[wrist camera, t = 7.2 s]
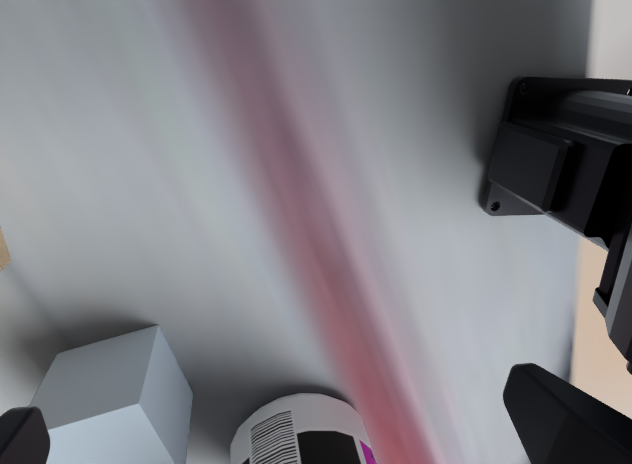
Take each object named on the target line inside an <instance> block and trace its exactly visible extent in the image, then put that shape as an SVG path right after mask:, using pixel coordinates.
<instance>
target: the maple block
mask: <svg viewBox="0 0 632 464" xmlns="http://www.w3.org/2000/svg"><path fill="white" fill-rule="evenodd" d="M10 261H11V259H10V256H9V252H8V249H7V246H6V243H5V240H4V237H3V234H2V230H1V227H0V271H1V270H2V269H3V268H4V267H5V266H6V265H7V264H8V263H9V262H10Z"/></svg>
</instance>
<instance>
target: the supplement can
mask: <svg viewBox="0 0 632 464" xmlns="http://www.w3.org/2000/svg"><path fill="white" fill-rule="evenodd" d="M230 464H377V463H376V460H375V457H374V454H373V451H372V448H371V445H370V442H369V439H368V436H367V433H366V430H365V427H364V424H363V422H362V419H361V416H360V414H359V413H358V412H357V411H356V410H354V409H353V408H352V407H351V406H350V405H349V404H348V403H346V402H344V401H341V400H338V399H335V398H332V397H329V396H326V395H323V394H320V393H297V394H293V395H289V396H284V397H280V398H277V399H276V400H274V401H272V402H270V403H268V404H266V405H264V406H262V407H260V408H259V409H258V410H257V411H256V412H254V413H253V414H252V415H251V416H250V417H249V418H248V419H247V420H246V421H245V422H244V423H243V424H242V425H241V426H240V427H239V428H238V430H237V432H236V434H235V436H234V438H233V441H232V443H231V445H230Z"/></svg>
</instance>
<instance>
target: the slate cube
mask: <svg viewBox="0 0 632 464" xmlns="http://www.w3.org/2000/svg"><path fill="white" fill-rule="evenodd" d="M192 401H193V392H192V390H191V388H190V386H189V384H188V382H187V380H186V378H185V376H184V374H183V372H182V370H181V368H180V366H179V364H178V362H177V360H176V358H175V356H174V354H173V352H172V350H171V348H170V346H169V344H168V342H167V340H166V338H165V336H164V334H163V332H162V330H161V328H160V326H159V325H155V326H152V327H148V328H145V329H141V330H138V331H134V332H131V333H127V334H124V335H120V336H117V337H113V338H110V339H106V340H103V341H99V342H96V343H92V344H88V345H85V346H81V347H78V348H74V349H71V350H67V351H64V352H60V353H57V355H56V357H55V359H54V361H53V363H52V364H51V366H50V368H49V370H48V372H47V374H46V375H45V377H44V379H43V381H42V383H41V385H40V386H39V388H38V390H37V392H36V394H35V396H34V397H33V399H32V401H31V403H30V405H29V407H30V406H36V407H38V408H40V410H41V412H42V414H43V417H44V421H45V424H46V427H47V430H48V433H49V436H50V452H49V455H48V459H47V462H46V464H186V455H187V446H188V437H189V428H190V419H191V410H192Z"/></svg>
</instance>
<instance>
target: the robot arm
mask: <svg viewBox="0 0 632 464" xmlns="http://www.w3.org/2000/svg"><path fill="white" fill-rule="evenodd" d="M523 83H524V84H525V88H524V90H523V92H521V93H520V87H521V85H522V84H523ZM629 89H630V91H629V93H628V95H627V92H628V90H629ZM487 177H488V180H487V185H486V189H485V193H484V197H483V202H482V209H483V211H485V212H486V213H487V214H489V215H491V216H506V215H542V214H545V215H547V216H549V217H550V218H552V219H554V220H555V221H557V222H559V223H561V224H562V225H564V226H566V227H567V228H569V229H571V230H573V231H574V232H576V233H578V234H579V235H581V236H583V237H585V238H586V239H588V240H590V241H591V242H593V243H595V244H597V245H598V246H600V247H602V248H603V249H605V250H607V251H608V255H607V259H606V263H605V266H604V271H603V274H602V278H601V282H600V285H599V287H598V288H596V289H595V293H594V296H593V302H594V304H595V305H596V306H597V308H598V309H599V311H600V312H601V314H602V315H603V317H604V318H605V322H606V326H607V331H608V335H609V337H610V339H611V340H612V342H613V343H614V344H615V346H616V347H617V348H618V350H619V351H620V352H621V354H622V355H623V356H624V358H625V359H626V360H627V361H628V362H627V365H626V366H627V370H628V371H629V373H630V374H631V375H632V80H618V79H594V78H569V77H545V76H518V77H517V78H515V79H514V80H513V81H512V82H511V85H510V87H509V91H508V95H507V100H506V104H505V108H504V112H503V117H502V121H501V125H500V126H499V128H498V132H497V137H496V141H495V145H494V150H493V154H492V158H491V162H490V167H489V171H488V175H487ZM494 202H496V204H495V206H494V207H493V208H491V205H492V204H493V203H494ZM503 400H504V404H505V407H506V409H507V411H508V413H509V416H510V418H511V420H512V422H513V425H514V427H515V429H516V431H517V433H518V436H519V438H520V440H521V442H522V444H523V447H524V449H525V451H526V453H527V456H528V458H529V460H530V462H531V464H632V419H630V418H628V417H627V416H625V415H623V414H622V413H620V412H618V411H616V410H615V409H613V408H611V407H609V406H608V405H606V404H604V403H602V402H601V401H599V400H597V399H596V398H594V397H592V396H590V395H588V394H587V393H585V392H583V391H582V390H580V389H578V388H576V387H575V386H573V385H571V384H569V383H568V382H566V381H564V380H562V379H561V378H559V377H557V376H555V375H554V374H552V373H550V372H549V371H547V370H545V369H543V368H542V367H540V366H538V365H536V364H533V363H524V364H516V365H514V366H513V367H512V368H511V370H510V373H509V376H508V379H507V382H506V385H505V388H504V392H503ZM49 452H50V436H49V433H48V430H47V427H46V424H45V421H44V417H43V414H42V412H41V410H40V408H38V407H36V406H30V407H18V408H12V409H10V410H8V411H7V412H5V413H4V414H3V415H1V416H0V464H46V462H47V459H48V455H49Z"/></svg>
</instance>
